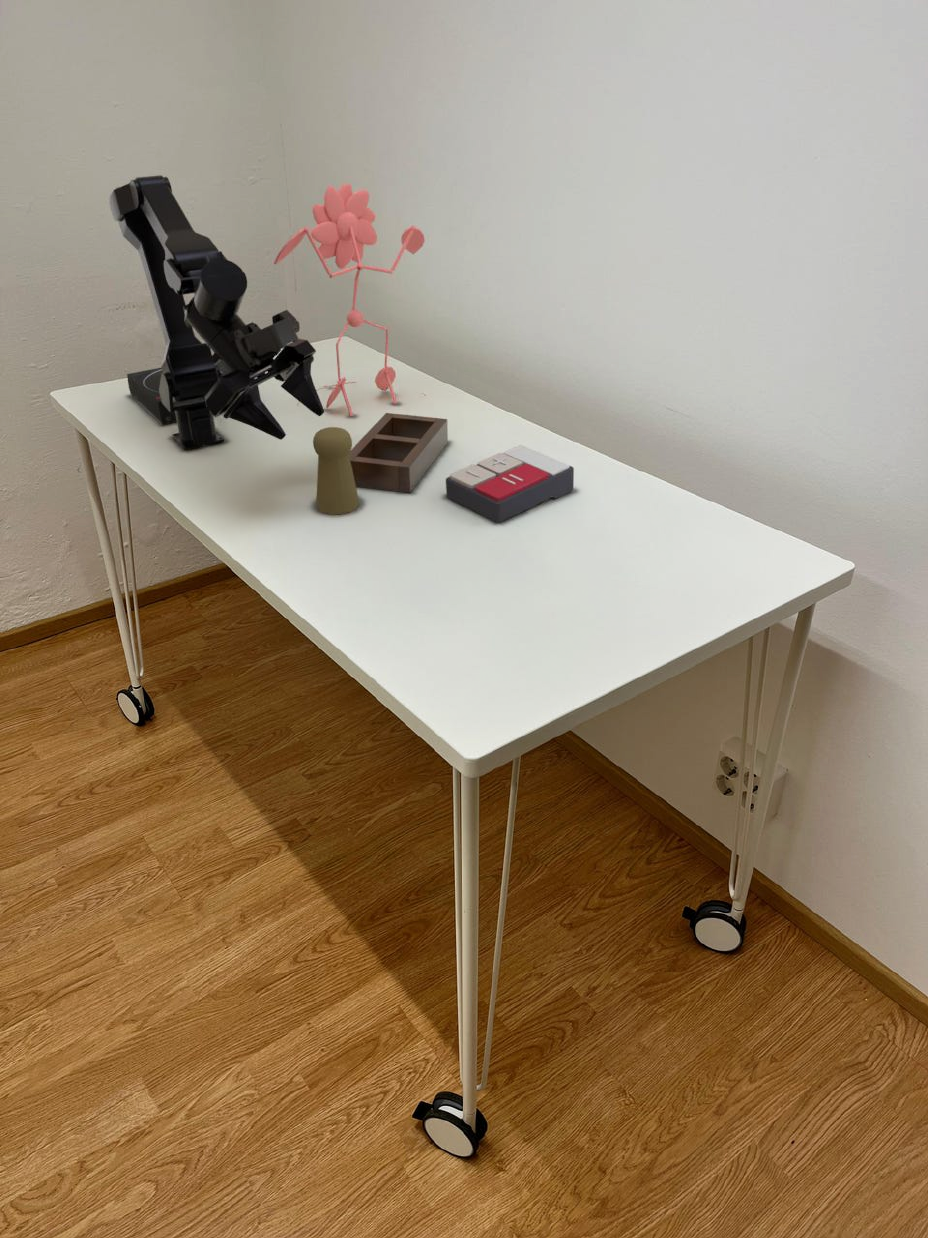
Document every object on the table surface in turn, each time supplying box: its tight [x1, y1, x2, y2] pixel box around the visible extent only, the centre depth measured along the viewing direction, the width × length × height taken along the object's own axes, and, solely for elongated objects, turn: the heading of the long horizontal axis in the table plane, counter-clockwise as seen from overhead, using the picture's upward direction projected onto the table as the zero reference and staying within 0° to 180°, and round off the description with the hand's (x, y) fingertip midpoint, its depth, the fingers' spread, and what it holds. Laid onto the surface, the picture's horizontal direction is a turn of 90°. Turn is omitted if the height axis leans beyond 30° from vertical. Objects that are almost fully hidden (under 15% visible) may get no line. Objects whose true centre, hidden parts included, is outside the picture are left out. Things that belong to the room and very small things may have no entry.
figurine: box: [273, 182, 427, 417], centre depth 162 cm, size 15×26×35 cm, turn 128°
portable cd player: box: [126, 361, 230, 426], centre depth 171 cm, size 16×17×4 cm
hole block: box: [349, 412, 449, 494], centre depth 148 cm, size 10×19×4 cm, turn 164°
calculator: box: [445, 444, 575, 523], centre depth 139 cm, size 11×4×15 cm
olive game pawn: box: [312, 426, 360, 515], centre depth 134 cm, size 6×6×11 cm
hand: (303, 425), depth 133 cm, fingers open, 9 cm apart
